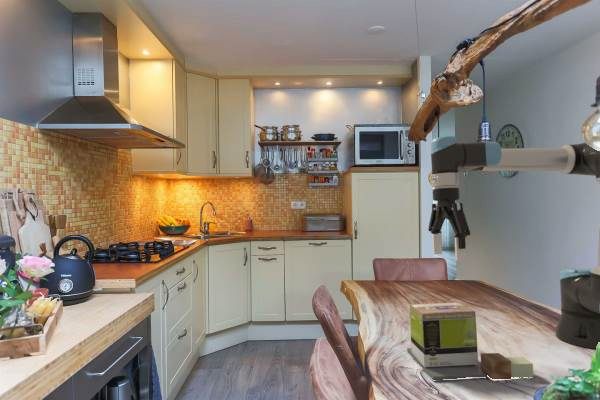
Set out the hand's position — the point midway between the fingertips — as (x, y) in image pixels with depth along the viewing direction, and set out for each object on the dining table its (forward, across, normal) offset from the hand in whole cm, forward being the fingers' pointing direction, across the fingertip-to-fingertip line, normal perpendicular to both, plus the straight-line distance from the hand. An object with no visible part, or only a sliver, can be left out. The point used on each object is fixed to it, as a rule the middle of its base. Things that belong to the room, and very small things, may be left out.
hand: (448, 256), depth 106 cm
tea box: (+28, +7, -7) cm, 29 cm away
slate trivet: (+29, +8, -7) cm, 30 cm away
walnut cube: (+29, +16, +3) cm, 33 cm away
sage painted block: (+29, +16, +9) cm, 34 cm away
